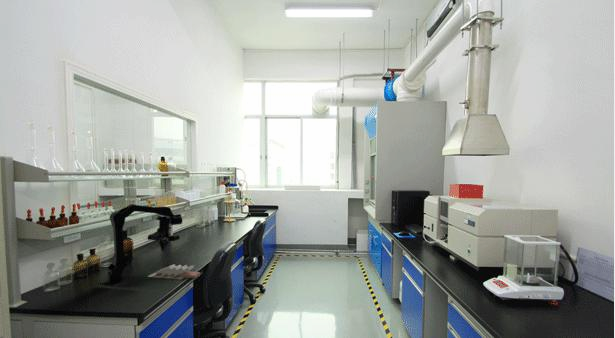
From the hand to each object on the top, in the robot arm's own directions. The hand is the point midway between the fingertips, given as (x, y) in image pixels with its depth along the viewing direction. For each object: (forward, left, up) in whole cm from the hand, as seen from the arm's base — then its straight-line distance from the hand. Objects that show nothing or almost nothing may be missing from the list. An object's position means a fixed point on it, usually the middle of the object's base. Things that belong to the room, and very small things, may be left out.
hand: (163, 250), depth 160 cm
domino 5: (+19, -7, -11) cm, 23 cm away
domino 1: (+3, -7, -11) cm, 13 cm away
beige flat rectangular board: (+11, -7, -12) cm, 18 cm away
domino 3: (+11, -7, -11) cm, 17 cm away
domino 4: (+15, -7, -11) cm, 20 cm away
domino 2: (+7, -7, -11) cm, 15 cm away
